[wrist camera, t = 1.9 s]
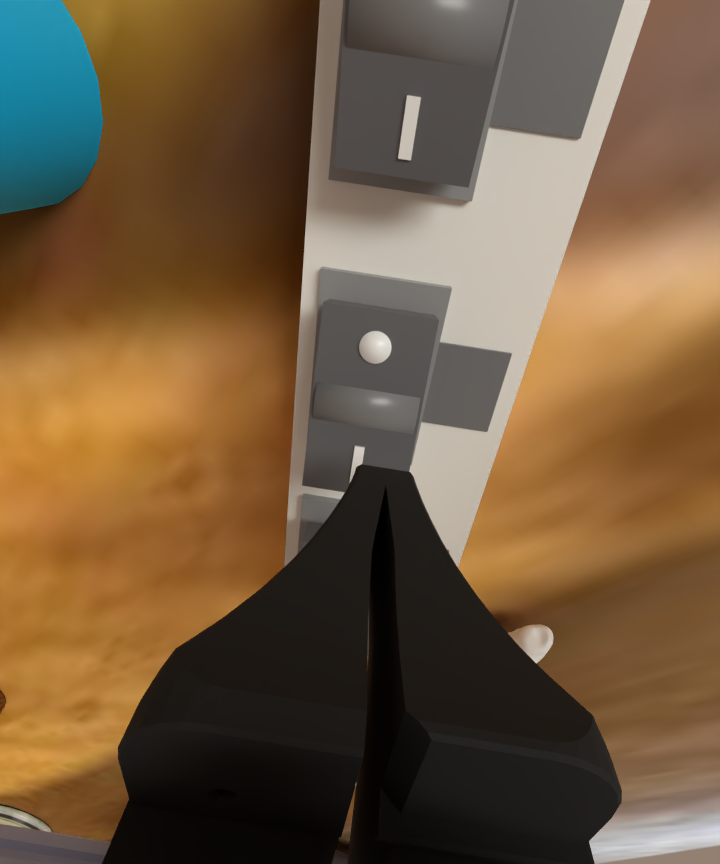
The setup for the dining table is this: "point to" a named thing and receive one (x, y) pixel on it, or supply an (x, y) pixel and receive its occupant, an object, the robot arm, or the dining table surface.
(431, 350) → the rocker dark gray
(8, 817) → the coffee can
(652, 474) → the dining table surface
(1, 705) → the disposable coffee cup
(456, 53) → the dark grey block
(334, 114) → the power strip
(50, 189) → the mug
